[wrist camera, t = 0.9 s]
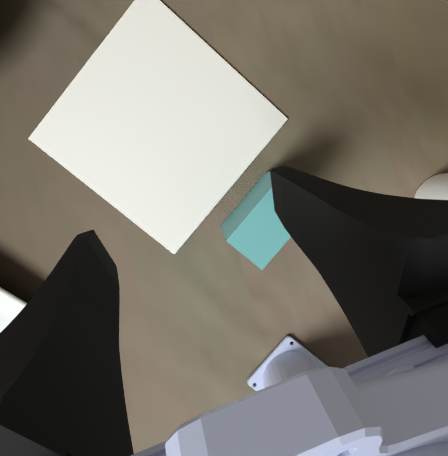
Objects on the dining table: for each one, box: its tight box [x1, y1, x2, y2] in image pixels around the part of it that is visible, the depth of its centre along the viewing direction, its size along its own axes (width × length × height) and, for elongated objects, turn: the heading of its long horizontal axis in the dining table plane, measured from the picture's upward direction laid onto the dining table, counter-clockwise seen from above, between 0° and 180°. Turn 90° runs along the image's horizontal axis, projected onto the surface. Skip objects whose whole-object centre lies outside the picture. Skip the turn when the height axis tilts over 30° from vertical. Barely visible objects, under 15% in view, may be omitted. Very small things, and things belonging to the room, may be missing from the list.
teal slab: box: [221, 172, 291, 270], centre depth 30 cm, size 4×8×10 cm, turn 140°
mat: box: [28, 0, 288, 254], centre depth 33 cm, size 20×20×1 cm
